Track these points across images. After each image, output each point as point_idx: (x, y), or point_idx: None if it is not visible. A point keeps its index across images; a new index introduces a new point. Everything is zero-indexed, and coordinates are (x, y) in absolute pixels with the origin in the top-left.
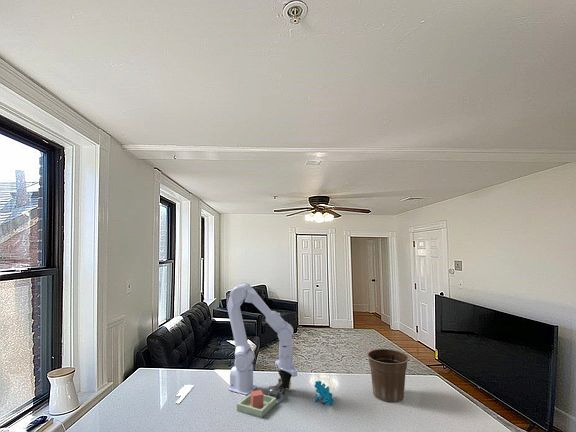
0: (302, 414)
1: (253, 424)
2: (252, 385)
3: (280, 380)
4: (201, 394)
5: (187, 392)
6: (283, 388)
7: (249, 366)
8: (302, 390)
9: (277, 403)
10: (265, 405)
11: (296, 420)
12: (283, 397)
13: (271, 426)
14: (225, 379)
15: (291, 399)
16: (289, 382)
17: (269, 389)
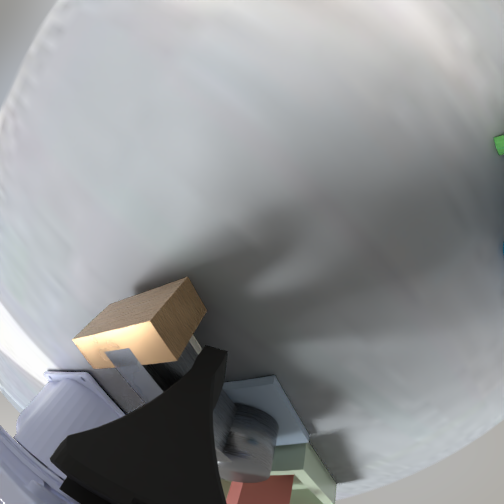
0: (475, 400)
1: (339, 495)
2: (98, 416)
3: (110, 363)
4: None
5: None
6: (188, 353)
7: (57, 492)
8: (289, 178)
9: (308, 436)
10: (317, 496)
11: (463, 430)
12: (282, 395)
13: (395, 479)
14: (25, 368)
15: (339, 367)
16: (174, 334)
17: (223, 478)
